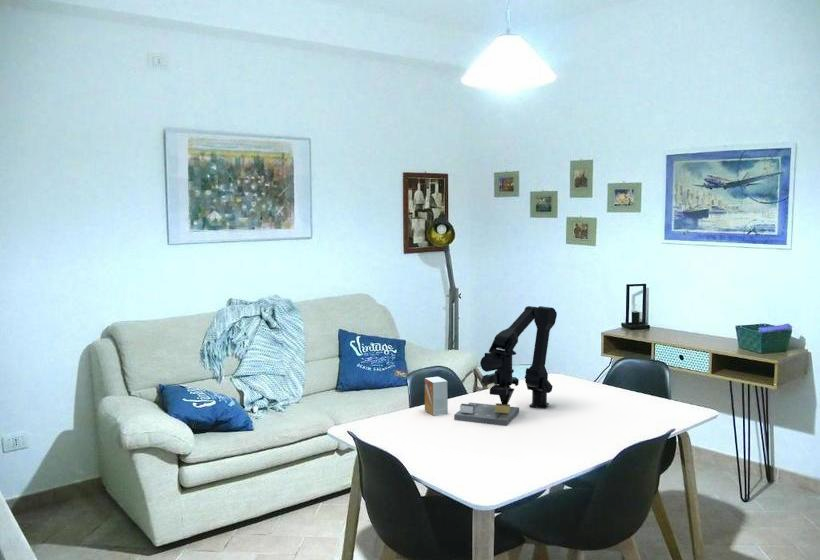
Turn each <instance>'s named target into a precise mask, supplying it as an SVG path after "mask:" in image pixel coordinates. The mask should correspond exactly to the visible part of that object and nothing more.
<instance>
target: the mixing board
mask: <svg viewBox="0 0 820 560" xmlns="http://www.w3.org/2000/svg"><path fill="white" fill-rule="evenodd" d="M467 404H472V405H475V412H474V413H473V414H470V413H461V412H460V410H458V411H457V412H456V413H454V415H453V418H454V419H453V420H455V421H460V420H461V421H460V422H470V423H480V424H486V423H487V424H489V425H495V426H506V427H507V426H508V425H509V424H510V423H511V422H512V421H513V419H515V418H516V416H517V415H519V414H520V407H519V406H510V412H509V413H498V412H495V405H496V404H489V403H477V402H469V403H468V402H467Z"/></svg>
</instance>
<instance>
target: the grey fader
mask: <svg viewBox="0 0 820 560" xmlns="http://www.w3.org/2000/svg"><path fill="white" fill-rule="evenodd" d="M459 411H460V412H461V413H470V414H473V413H474V412H475V405H472V404H468V403H461V404H460V405H459Z"/></svg>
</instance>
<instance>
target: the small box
mask: <svg viewBox="0 0 820 560" xmlns="http://www.w3.org/2000/svg"><path fill="white" fill-rule="evenodd" d="M448 399H449V398H448V380H446V379H445V378H442V377H440V376H433V377H432V376H431V377H425V378H424V411H425V412H427V413H429V414H430V415H432V416H433V415H435V416H440V415H439V414H442V415H448V413H449V412H448V411H449V409H448V406H449V405H448V403H449V402H448Z"/></svg>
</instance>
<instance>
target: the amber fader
mask: <svg viewBox="0 0 820 560" xmlns="http://www.w3.org/2000/svg"><path fill="white" fill-rule="evenodd" d="M494 405H495V412H498V413H509V412H510V407H511V404H509V403H508V404H502V403H498V402H497V403H495V404H494Z"/></svg>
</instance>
